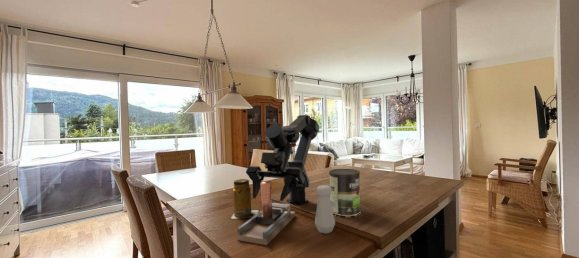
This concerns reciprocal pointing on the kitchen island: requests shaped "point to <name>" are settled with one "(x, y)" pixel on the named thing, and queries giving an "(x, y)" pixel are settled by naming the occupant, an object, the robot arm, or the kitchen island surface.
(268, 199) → the slider
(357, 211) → the coffee can
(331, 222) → the salt shaker
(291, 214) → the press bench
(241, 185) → the condiment
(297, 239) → the kitchen island surface
